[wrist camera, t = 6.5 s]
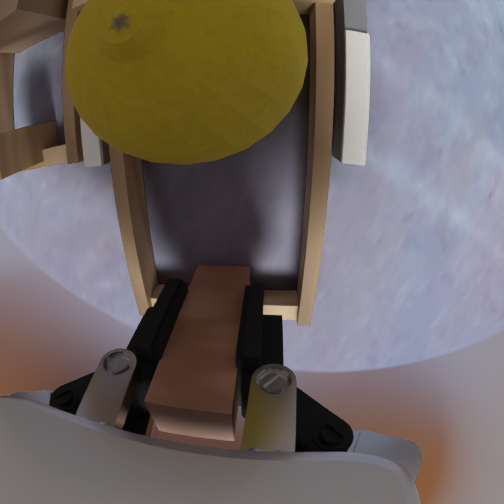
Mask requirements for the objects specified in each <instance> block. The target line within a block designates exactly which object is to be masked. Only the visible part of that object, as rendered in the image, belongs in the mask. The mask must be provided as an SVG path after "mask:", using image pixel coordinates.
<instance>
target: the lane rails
mask: <svg viewBox="0 0 504 504" xmlns="http://www.w3.org/2000/svg"><path fill="white" fill-rule="evenodd" d="M334 3H335V28H336V94H335V122H334V141H333V156H334V157H335V158H336V159H338V160H339V161H340V162H341V163H344V164H355V165H364V166H365V161H366V150H367V137H368V122H369V102H370V34H367V18H366V3H365V0H335V2H334ZM80 124H81V137H82V148H83V157H84V166H85V168H88V167H96V166H102V165H104V164H107V163H109V162H110V153H109V144H108V143H106V142H105V141H103V140H102V139H100V138H99V137H97V136H96V135H95V134H94V133H93V131H92V130H91V129H90V128H89V127H88V126H87V124H86V123H85V122H84V121H83V120H82V119H81V117H80Z"/></svg>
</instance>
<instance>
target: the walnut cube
mask: <svg viewBox="0 0 504 504" xmlns="http://www.w3.org/2000/svg"><path fill="white" fill-rule="evenodd" d="M68 1H69V0H0V53H20V52H21V51H23V50H25V49H27V48H29V47H31V46H33V45H34V44H36V43H38V42H40V41H42V40H44V39H46V38H49V37H51V36H53V35H55V34H57V33H59V32H62V31H64V30H65V23H66V15H67V7H68Z"/></svg>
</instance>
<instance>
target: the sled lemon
mask: <svg viewBox="0 0 504 504" xmlns="http://www.w3.org/2000/svg"><path fill="white" fill-rule="evenodd" d="M87 1H88V0H73V5H72V9H74V10H77V11H80V12H81V10H82V9H83V7H84V5H85V4H86V2H87ZM292 1H293V2H294V4H295V6H296V9H297V11H298V13H299V14H303V15H310V102H309V133H308V156H307V174H306V190H305V205H304V218H303V231H302V243H301V254H300V264H299V274H298V284H297V291H296V290H264V305H263V314H264V315H282V319H285V320H297V326H311V320H312V314H313V308H314V302H315V295H316V289H317V282H318V275H319V268H320V261H321V253H322V245H323V237H324V228H325V219H326V209H327V199H328V188H329V176H330V163H331V149H332V131H333V108H334V14H333V3H334V2H335V0H292ZM109 153H110V163H111V172H112V180H113V188H114V195H115V202H116V208H117V214H118V220H119V226H120V231H121V237H122V242H123V247H124V252H125V257H126V261H127V266H128V270H129V275H130V279H131V283H132V287H133V291H134V295H135V299H136V303H137V306H138V310H139V314H140V315H142V316H144V314H145V312H146V310H147V309H148V308H149V307H153V306H154V304H155V302H156V301H157V299H158V297H159V295H160V293H161V291H162V289H163V287H164V285H165V284H158V278H157V273H156V267H155V262H154V256H153V250H152V244H151V237H150V230H149V223H148V216H147V208H146V200H145V192H144V182H143V172H142V161H141V159H140V158H137V157H134V156H131V155H128V154H125V153H122V152H120V151H119V150H117V149H115V148H114V147H112V146H111V145H109ZM245 285H250V266H228V265H203V264H198V267H197V269H196V271H195V274H194V276H193V278H192V281H191V283H190V285H189V286H188V293H187V295H186V298H185V300H184V303H183V305H182V308H181V310H180V313H179V315H178V318H177V320H176V323H175V325H174V328H173V330H172V333H171V335H170V338H169V341H168V343H167V346H166V348H165V351H164V353H163V356H162V359H161V360H159V363H158V365H157V368H156V370H155V373H154V376H153V378H152V381H151V384H150V387H149V389H148V392H147V395H146V398H145V400H144V403H145V405H146V407H147V408H148V410H149V412H150V414H151V416H152V418H153V420H154V422H155V424H156V426H157V427H158V429H159V431H164V432H170V433H175V434H181V435H187V436H194V437H201V438H211V439H219V440H230V441H234V439H235V430H236V422H237V413H238V404H239V390H238V371H237V368H236V362H235V357H236V346H237V339H238V332H239V326H240V319H241V312H242V305H243V298H244V291H245Z"/></svg>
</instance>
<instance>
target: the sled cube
mask: <svg viewBox="0 0 504 504" xmlns="http://www.w3.org/2000/svg"><path fill="white" fill-rule="evenodd" d="M72 5H73V0H69V1H68V7H67V15H66V23H65V33H64V47H63V70H62V95H63V120H64V134H65V144H60V145H58V141H57V129H56V121H50V122H45V123H41V124H36V125H31V126H27V127H23V128H19V129H15V130H14V118H13V65H14V53H0V180H1V179H3V178H6V177H8V176H10V175H12V174H15V173H17V172H21V171H26V170H31V169H36V168H41V167H46V166H51V165H57V164H63V163H68V164H70V163H77V162H80V161H83V160H84V157H83V148H82V137H81V124H80V116H79V114H78V112H77V110H76V108H75V106H74V104H73V102H72V99H71V97H70V95H69V93H68V87H67V81H66V75H65V62H66V51H67V43H68V40H69V37H70V34H71V31H72V28H73V25H74V22H75V21H76V19H77V17H78V15H79V14H80V11H77V10H74V9H72Z"/></svg>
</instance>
